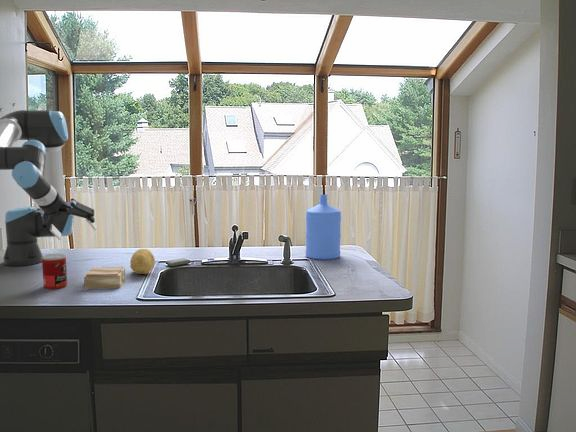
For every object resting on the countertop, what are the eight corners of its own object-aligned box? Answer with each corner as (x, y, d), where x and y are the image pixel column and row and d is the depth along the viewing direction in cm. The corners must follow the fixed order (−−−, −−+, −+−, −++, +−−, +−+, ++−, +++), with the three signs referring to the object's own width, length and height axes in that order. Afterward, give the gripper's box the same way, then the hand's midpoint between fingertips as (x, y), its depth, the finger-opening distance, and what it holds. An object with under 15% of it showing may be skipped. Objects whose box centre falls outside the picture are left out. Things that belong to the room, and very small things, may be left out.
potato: (160, 269, 221) (159, 246, 220) (147, 278, 207) (147, 253, 205) (136, 268, 222) (135, 245, 221) (122, 277, 208) (121, 253, 206)
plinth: (91, 280, 203) (91, 267, 202) (125, 279, 205) (124, 266, 204) (84, 289, 191) (83, 275, 191) (120, 287, 193) (119, 274, 192)
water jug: (339, 260, 239) (340, 196, 235) (303, 259, 241) (303, 196, 237) (341, 253, 254) (342, 193, 250) (307, 252, 256) (308, 192, 253)
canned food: (59, 289, 190) (57, 258, 189) (38, 288, 192) (36, 257, 190) (71, 284, 198) (70, 254, 196) (52, 283, 199) (50, 253, 198)
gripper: (11, 216, 183) (45, 249, 200) (82, 196, 183) (110, 230, 200) (13, 199, 188) (46, 232, 205) (82, 179, 187) (109, 214, 204)
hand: (77, 231), depth 202 cm, fingers open, 13 cm apart
